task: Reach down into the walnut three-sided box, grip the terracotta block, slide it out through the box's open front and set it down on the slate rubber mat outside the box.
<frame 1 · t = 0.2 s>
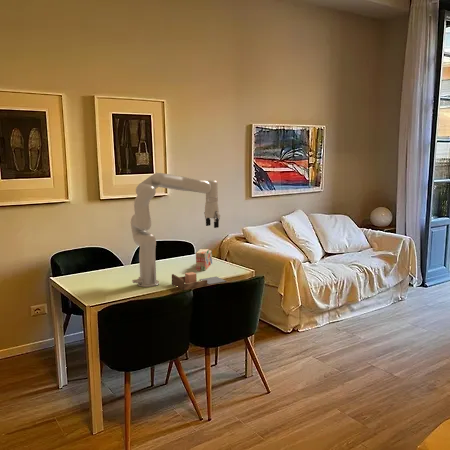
hand: (212, 226, 295), 31 cm above the table, fingers open, 9 cm apart
slate mat: (212, 280, 283), on the table
terracotta block: (191, 284, 275), on the table
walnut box: (192, 284, 276), on the table
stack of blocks: (204, 267, 317), on the table
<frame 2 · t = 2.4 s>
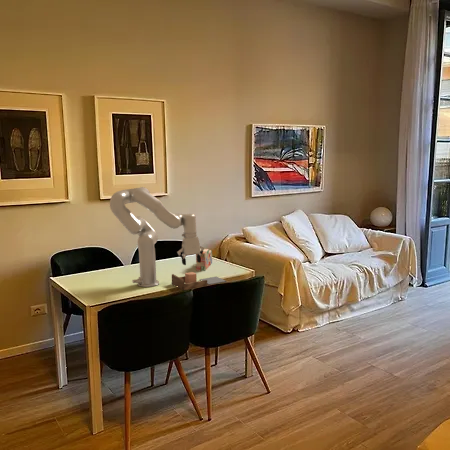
hand: (191, 263, 273), 13 cm above the table, fingers open, 9 cm apart
nothing on the table moved.
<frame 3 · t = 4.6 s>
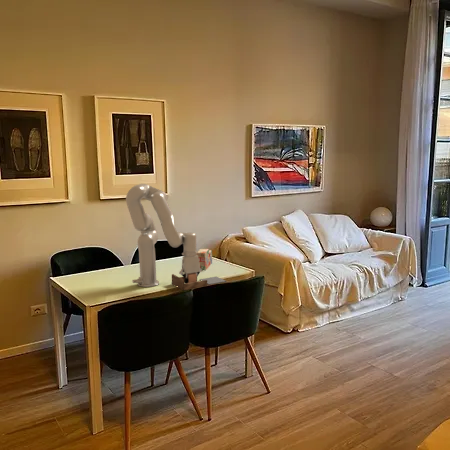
hand: (190, 283, 275), 1 cm above the table, fingers closed on terracotta block, 5 cm apart
terracotta block: (191, 284, 275), on the table, touching gripper
everything else where it was.
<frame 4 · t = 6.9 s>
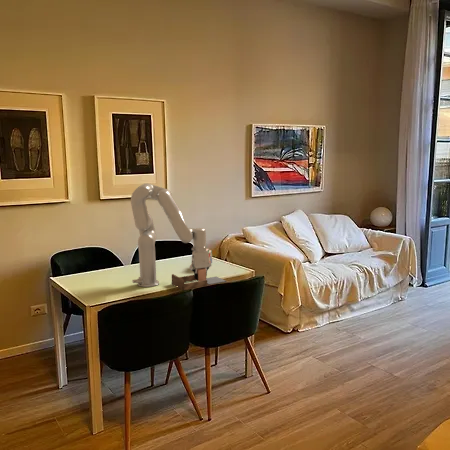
hand: (200, 278, 278), 3 cm above the table, fingers closed on terracotta block, 5 cm apart
terracotta block: (200, 279, 278), point 2 cm above the table, touching gripper
everything else where it was.
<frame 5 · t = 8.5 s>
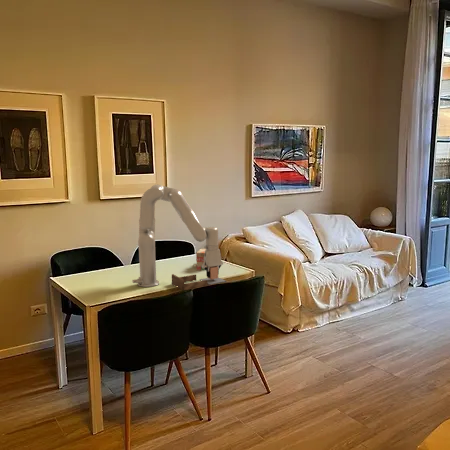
hand: (212, 276, 282), 3 cm above the table, fingers closed on terracotta block, 5 cm apart
terracotta block: (212, 277, 283), point 2 cm above the table, touching gripper
when the fingers open (2 cm above the table, at t = 9.6 s): terracotta block stays where it is, resting on slate mat.
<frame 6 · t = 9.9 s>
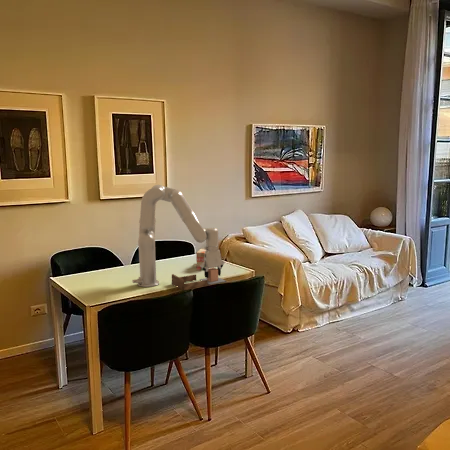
hand: (212, 276, 282), 3 cm above the table, fingers open, 8 cm apart
terracotta block: (212, 280, 283), resting on slate mat
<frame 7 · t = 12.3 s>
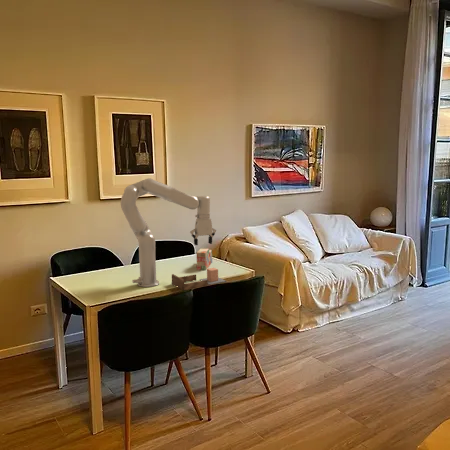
hand: (203, 244, 282), 22 cm above the table, fingers open, 9 cm apart
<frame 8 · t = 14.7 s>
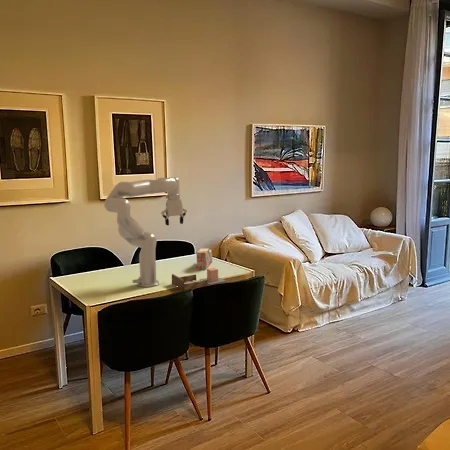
hand: (174, 224, 290), 33 cm above the table, fingers open, 9 cm apart
at the end: terracotta block inside the target area on the slate mat (0.1 cm from its centre), point 0.4 cm above the slate mat's base; terracotta block tilted 0°; the gripper is holding nothing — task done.
